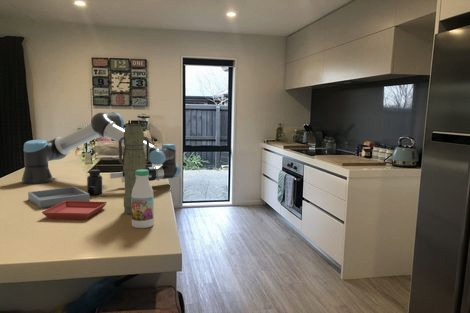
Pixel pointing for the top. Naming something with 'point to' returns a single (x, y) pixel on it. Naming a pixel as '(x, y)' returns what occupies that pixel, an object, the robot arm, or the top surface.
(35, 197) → the tray
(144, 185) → the milk bottle
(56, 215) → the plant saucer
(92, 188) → the supplement bottle
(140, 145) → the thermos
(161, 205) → the top surface
